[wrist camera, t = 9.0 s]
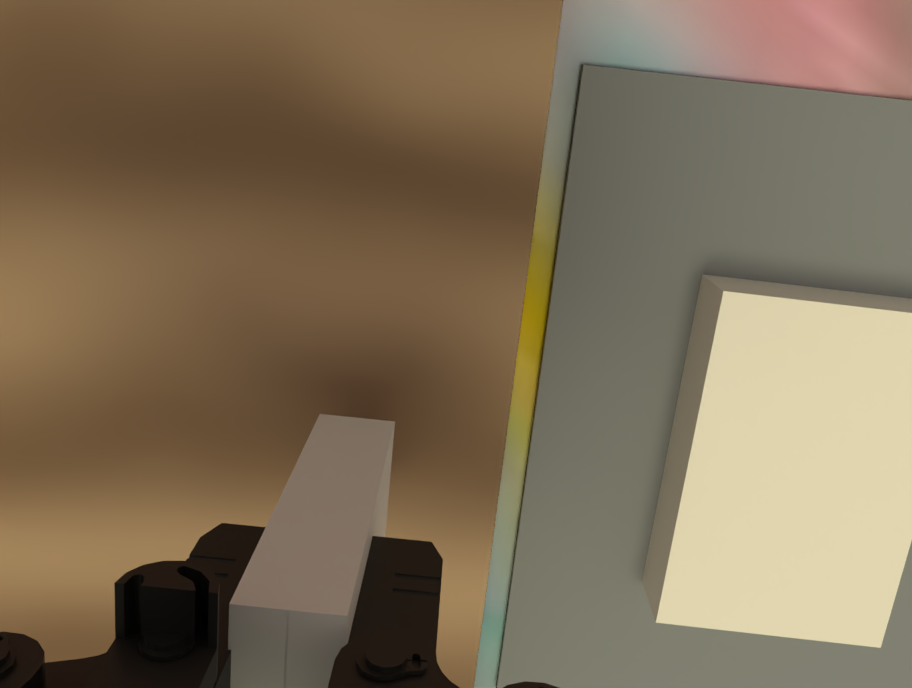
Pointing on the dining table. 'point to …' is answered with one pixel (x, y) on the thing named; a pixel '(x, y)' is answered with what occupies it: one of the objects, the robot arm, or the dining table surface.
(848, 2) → the dining table surface
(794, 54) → the dining table surface
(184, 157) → the brown wooden block
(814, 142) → the mat
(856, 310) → the cream rectangular block
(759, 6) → the dining table surface
